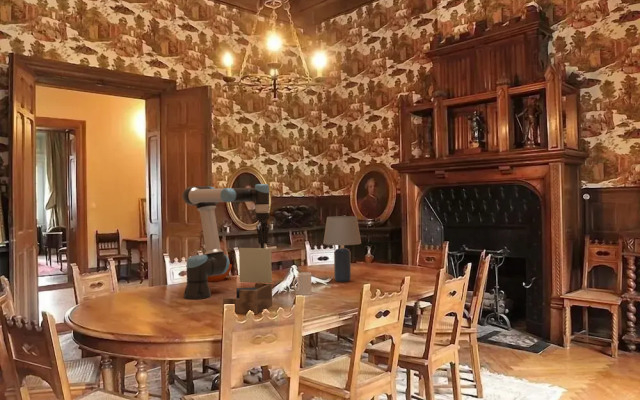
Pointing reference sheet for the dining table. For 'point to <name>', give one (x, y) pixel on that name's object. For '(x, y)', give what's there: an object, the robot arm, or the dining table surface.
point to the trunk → (252, 299)
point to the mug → (303, 283)
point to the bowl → (219, 277)
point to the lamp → (342, 243)
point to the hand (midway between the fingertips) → (263, 255)
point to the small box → (243, 289)
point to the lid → (255, 265)
